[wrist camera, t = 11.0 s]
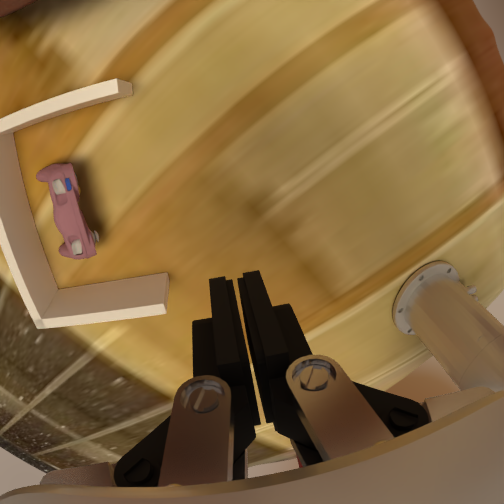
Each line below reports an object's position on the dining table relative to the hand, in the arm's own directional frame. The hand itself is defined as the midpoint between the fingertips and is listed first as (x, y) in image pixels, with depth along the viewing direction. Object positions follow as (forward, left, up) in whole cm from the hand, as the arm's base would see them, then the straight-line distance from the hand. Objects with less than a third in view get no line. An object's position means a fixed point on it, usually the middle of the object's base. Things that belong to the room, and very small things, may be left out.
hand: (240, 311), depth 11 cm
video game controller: (+15, 0, -23) cm, 27 cm away
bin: (+13, 0, -22) cm, 26 cm away
